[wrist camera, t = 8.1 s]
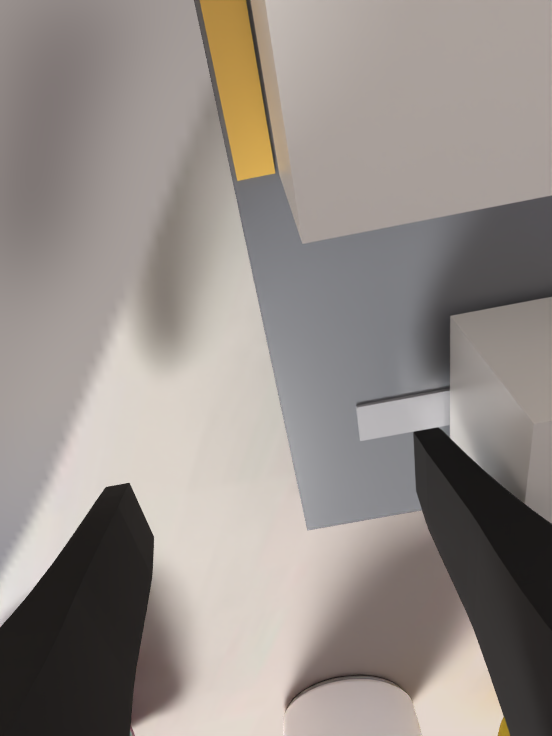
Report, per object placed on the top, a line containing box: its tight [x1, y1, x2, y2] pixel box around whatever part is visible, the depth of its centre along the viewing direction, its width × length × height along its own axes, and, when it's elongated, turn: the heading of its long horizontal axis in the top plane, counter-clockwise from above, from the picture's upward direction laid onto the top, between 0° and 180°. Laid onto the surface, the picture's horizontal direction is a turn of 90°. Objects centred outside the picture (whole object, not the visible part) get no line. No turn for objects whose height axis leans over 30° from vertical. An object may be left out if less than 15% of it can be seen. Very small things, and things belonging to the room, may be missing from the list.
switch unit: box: [194, 0, 552, 530], centre depth 13 cm, size 12×18×2 cm, turn 10°
